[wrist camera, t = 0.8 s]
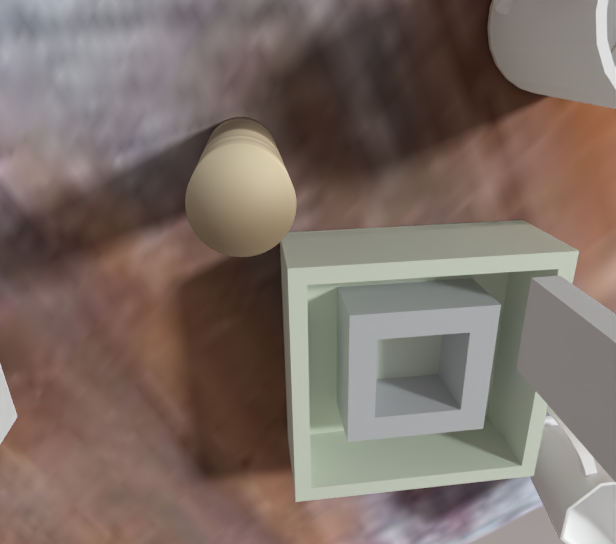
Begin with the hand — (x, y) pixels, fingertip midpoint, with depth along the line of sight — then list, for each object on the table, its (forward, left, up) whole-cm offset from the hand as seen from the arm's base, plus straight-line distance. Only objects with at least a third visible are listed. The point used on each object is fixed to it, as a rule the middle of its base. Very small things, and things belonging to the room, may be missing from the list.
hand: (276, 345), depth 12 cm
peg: (-2, -1, -19) cm, 19 cm away
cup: (+20, +21, -19) cm, 35 cm away
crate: (+11, +9, -19) cm, 24 cm away
